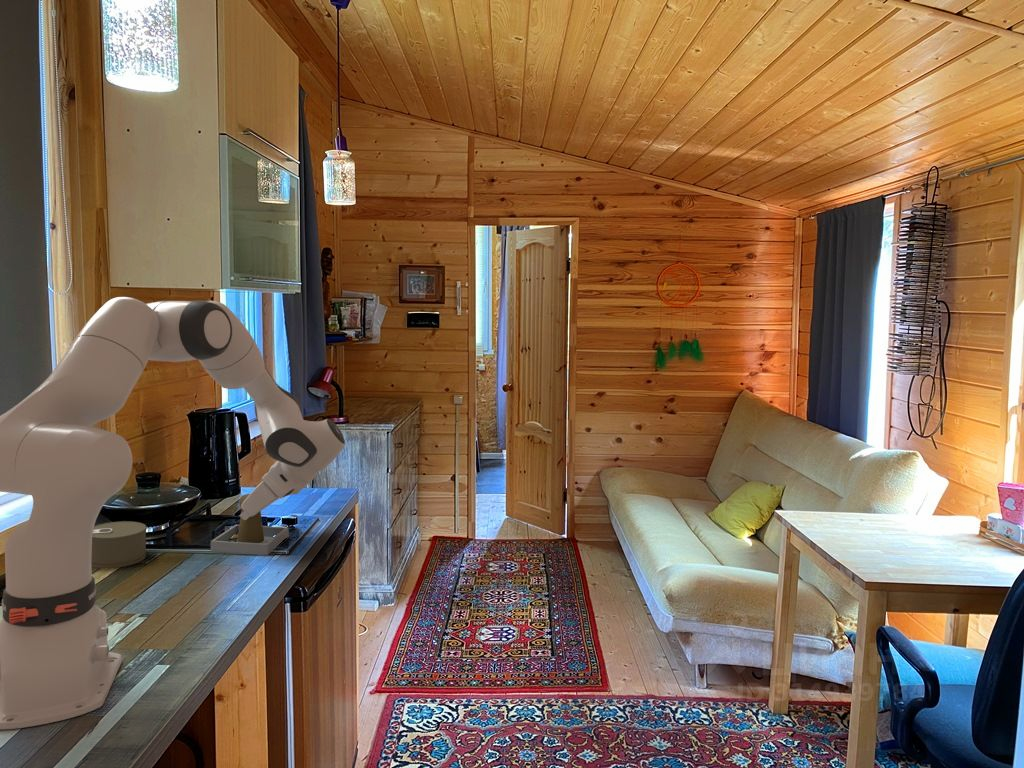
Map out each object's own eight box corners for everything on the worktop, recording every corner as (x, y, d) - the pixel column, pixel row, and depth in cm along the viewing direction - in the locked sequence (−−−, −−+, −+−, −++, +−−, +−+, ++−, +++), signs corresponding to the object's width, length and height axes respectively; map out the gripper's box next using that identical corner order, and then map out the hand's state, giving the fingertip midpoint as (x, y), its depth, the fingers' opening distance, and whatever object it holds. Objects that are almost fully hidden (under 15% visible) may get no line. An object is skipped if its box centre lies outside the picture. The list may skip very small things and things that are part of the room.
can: (147, 565, 161) (146, 534, 161) (83, 572, 156) (82, 540, 155) (146, 547, 172) (146, 519, 171) (86, 553, 166) (86, 524, 166)
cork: (255, 545, 171) (255, 498, 170) (231, 542, 173) (231, 496, 172) (269, 537, 177) (269, 492, 176) (246, 535, 179) (246, 490, 177)
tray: (267, 557, 168) (267, 544, 168) (210, 554, 169) (210, 541, 169) (288, 539, 181) (288, 527, 181) (235, 536, 182) (235, 524, 182)
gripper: (295, 456, 183) (257, 493, 185) (262, 475, 163) (219, 516, 164) (313, 475, 183) (274, 512, 185) (282, 496, 163) (239, 537, 165)
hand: (248, 514), depth 174 cm, fingers closed on cork, 4 cm apart
